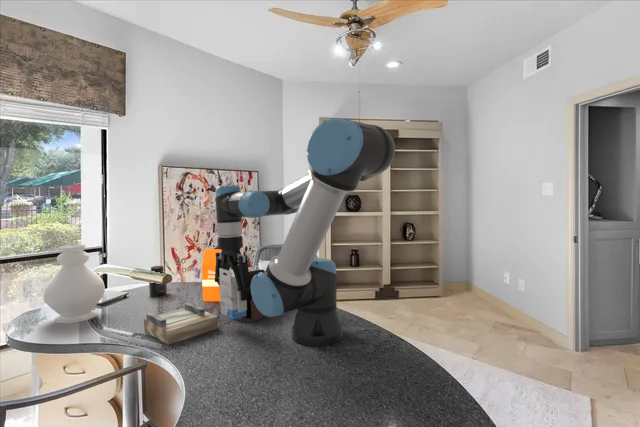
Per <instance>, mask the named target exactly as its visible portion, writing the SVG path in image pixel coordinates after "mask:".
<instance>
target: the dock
mask: <svg viewBox="0 0 640 427" xmlns="http://www.w3.org/2000/svg"><path fill="white" fill-rule="evenodd" d="M143 324H144V325H143V326H144V328H143V329H144V332H145V333H147V334H149V335H150V336H152V337H154V338H156V339H158V340H159V341H161V342H163V343H164V344H165V345H168V346H169V345H173V344H176V343H178V342H182V341H185V340H188V339H191V338H193V337H196V336H200V335H202V334H206V333H209V332H211V331H212V332H213V331H215V330H218V329H219V328H218V327H219V326H218V325H219V324H218V316H217V315H215V314H213V313H211V312H207V311H206V310H205V307H204V308H203V307H201V306H198V305H196V304H193V303H190V302H187V303H184V307H183V308H179V309H175V310H171V311H167V312H164V313H160V314H155V313H153V312H147V313H146V317H145V318H143Z"/></svg>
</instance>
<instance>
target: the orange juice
mask: <svg viewBox="0 0 640 427" xmlns="http://www.w3.org/2000/svg"><path fill="white" fill-rule="evenodd" d="M221 251H222V250H220V249H218V248H217V249H216V248H214V249H213V248H212V249H211V248H210V249H209V248H207V249H204V252H203V257H202V262H201V277H202V278H201V279H202V280H201V285H202V301H203V302H220V293H219V285H218V283H217V282H215V267H216V255H215V254H216V253H217V252H221ZM229 271H231V269H230V270H229ZM218 278H219V277H218Z"/></svg>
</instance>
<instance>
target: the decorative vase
mask: <svg viewBox="0 0 640 427" xmlns="http://www.w3.org/2000/svg"><path fill="white" fill-rule="evenodd" d="M85 248H86V245H85V244H71V245H64V246H59V251H62V252H60V253H59V255H57V257H56V262H57V264H59V265H60V266H62V267H61V269H58V271H57V272H56V273H55V274H54V275H53V276H52V277H51V279H50V280H49V281H48V282H47V285H46V286H45V287H44V290H43V300H44V302H45V304H46V305H47V306H48V307H49V308H50V309H51V310H53V311H54V312H56V313H57V314H58V316H57V317H55V318H54V322H55V323H57V324H61V323H62V324H63V323H67V324H75V323H80V322H85V321H88V320H91V319H93V318H95V317H97V316H98V315H99V313H98V310H95V307H96V306H97V305H98V304H99V302H100V301H101V300H102V298H103V296H104V294H105V291H106V287H105V283H104V280H103V278H102V277H100V275H98V274H97V272H95V271H94V270H93V269H91V268H90V267H88V265H86V263H88V261H89V259H90V254H89V253H88V252H86V251H85V250H84V249H85ZM62 324H61V325H62ZM63 325H64V324H63Z"/></svg>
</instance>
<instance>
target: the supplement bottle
mask: <svg viewBox="0 0 640 427" xmlns="http://www.w3.org/2000/svg"><path fill="white" fill-rule="evenodd" d="M151 271H155V272H160V273H165V274H166V272H165V271H164V266H163V265H155V266H154V265H153V266H151V267H150V272H151ZM166 275H167V274H166ZM148 289H149V290H148V291H149V296H150V297H152V298H159V297H164V296H166V295H167V294H168V283H167V284H164V285H163V284H156V283H150V282H149V281H148Z"/></svg>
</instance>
